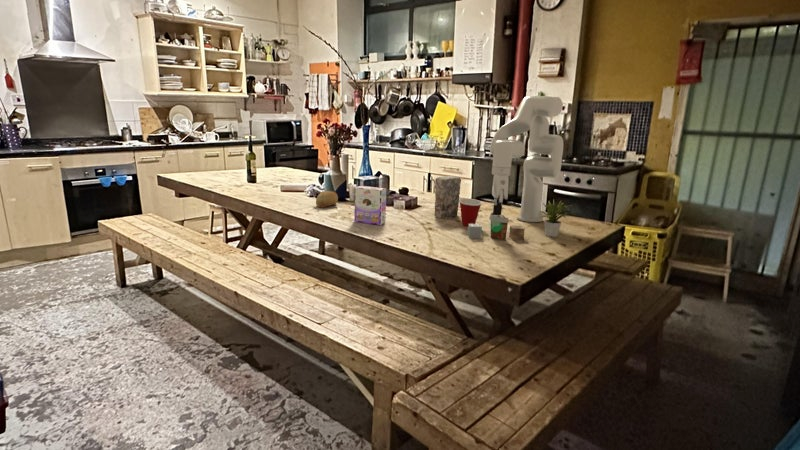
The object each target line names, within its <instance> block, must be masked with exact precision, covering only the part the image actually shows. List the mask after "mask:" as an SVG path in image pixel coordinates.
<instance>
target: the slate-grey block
mask: <svg viewBox="0 0 800 450" xmlns="http://www.w3.org/2000/svg"><path fill="white" fill-rule="evenodd" d="M482 229H483V226H482V225H481V224H480V223H475V224H468V227H467V237H468V238H469V239H482Z"/></svg>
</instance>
